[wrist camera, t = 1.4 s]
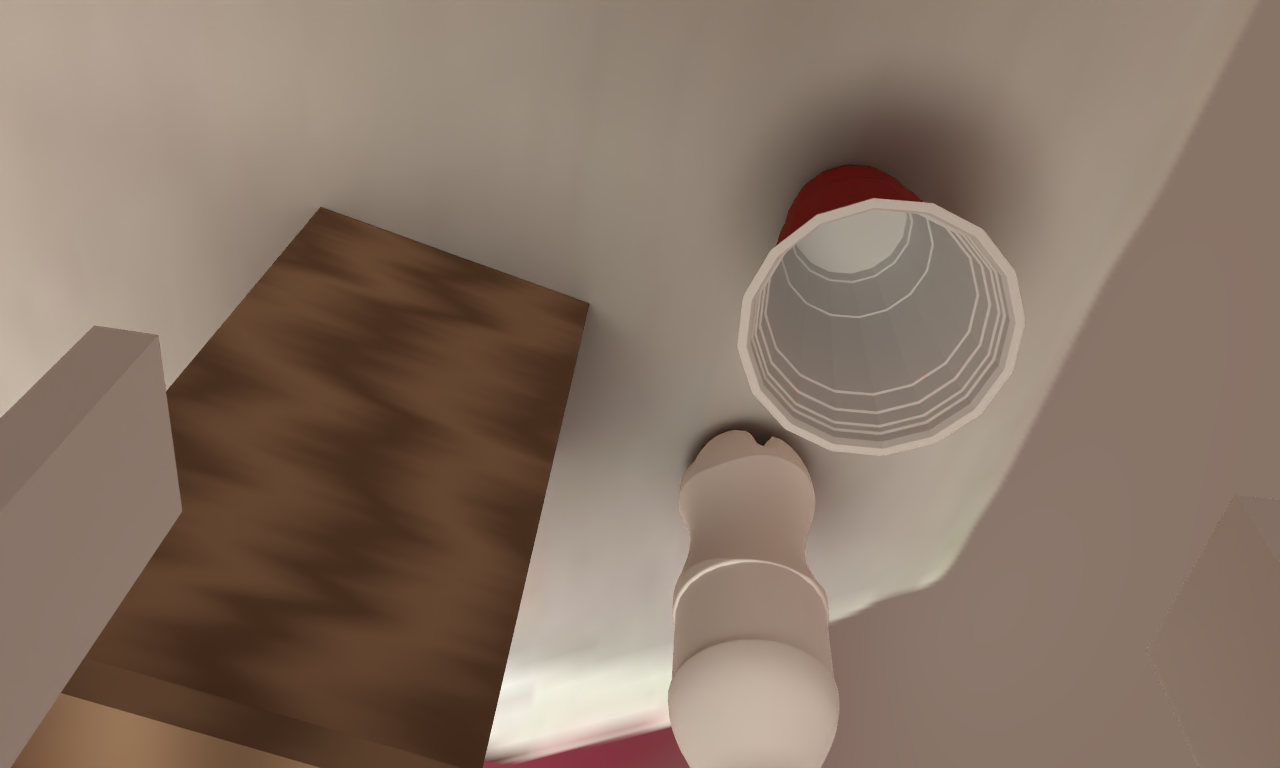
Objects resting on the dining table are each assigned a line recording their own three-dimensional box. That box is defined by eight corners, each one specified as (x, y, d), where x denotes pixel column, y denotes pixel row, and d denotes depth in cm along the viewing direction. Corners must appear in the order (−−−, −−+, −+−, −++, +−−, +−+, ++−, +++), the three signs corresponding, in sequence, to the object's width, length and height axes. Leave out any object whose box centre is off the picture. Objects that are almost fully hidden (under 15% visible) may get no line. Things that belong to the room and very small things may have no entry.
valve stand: (274, 372, 57) (-85, 890, 32) (312, 194, 51) (-88, 650, 26) (537, 461, 59) (397, 1014, 34) (601, 299, 53) (492, 817, 28)
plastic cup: (968, 90, 47) (1036, 191, 37) (963, 306, 52) (1021, 445, 42) (723, 118, 48) (723, 223, 38) (744, 326, 54) (749, 465, 44)
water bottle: (710, 534, 61) (705, 962, 40) (659, 439, 58) (624, 851, 37) (829, 497, 59) (889, 927, 38) (783, 397, 56) (821, 806, 35)
